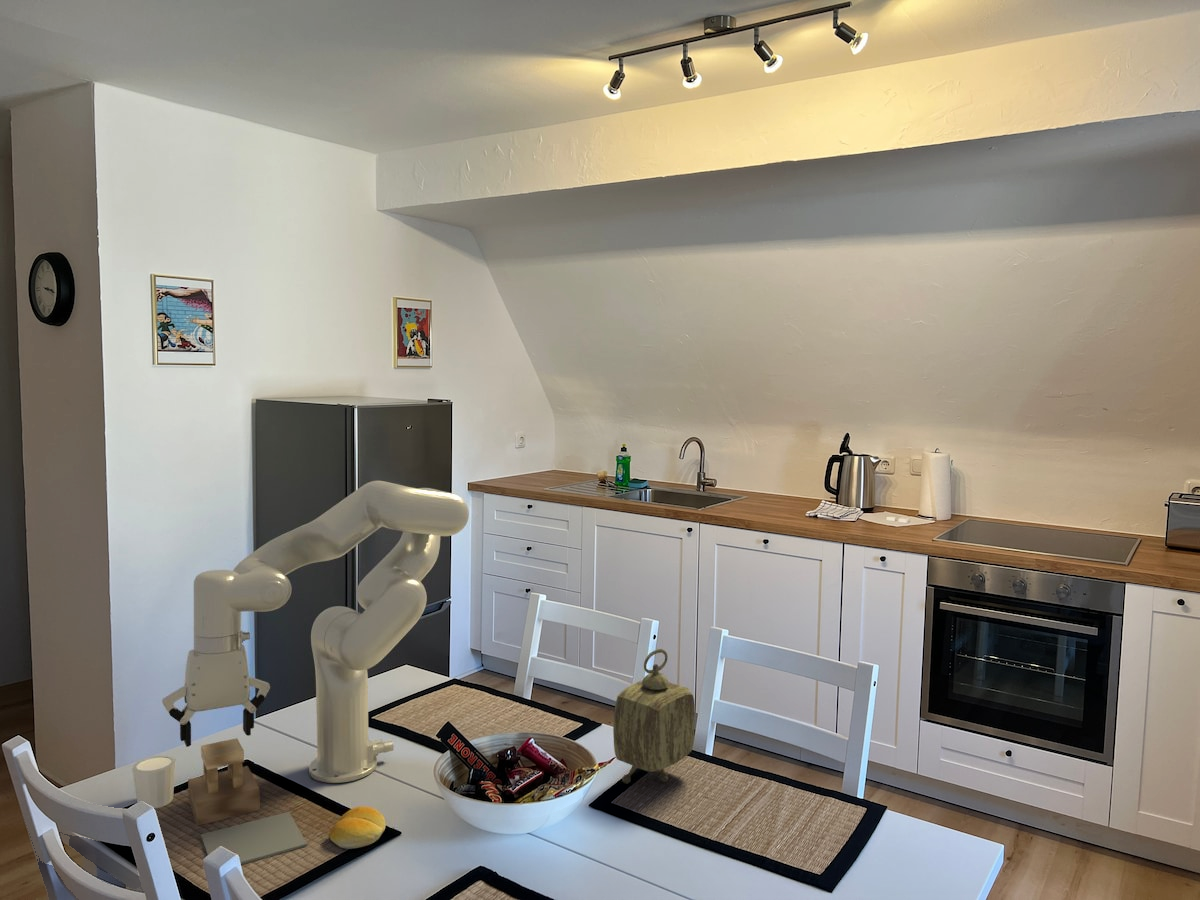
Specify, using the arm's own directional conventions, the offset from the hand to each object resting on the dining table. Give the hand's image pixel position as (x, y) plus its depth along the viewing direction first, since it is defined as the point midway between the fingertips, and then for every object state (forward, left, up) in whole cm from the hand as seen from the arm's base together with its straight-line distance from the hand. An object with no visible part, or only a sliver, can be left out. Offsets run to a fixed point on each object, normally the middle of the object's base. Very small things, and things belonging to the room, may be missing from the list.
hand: (217, 738), depth 151 cm
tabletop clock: (-72, +32, -13) cm, 79 cm away
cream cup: (+9, -8, -13) cm, 18 cm away
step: (-1, 0, -13) cm, 13 cm away
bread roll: (-18, +22, -13) cm, 31 cm away
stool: (-1, 0, -9) cm, 9 cm away
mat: (-3, +15, -13) cm, 20 cm away
